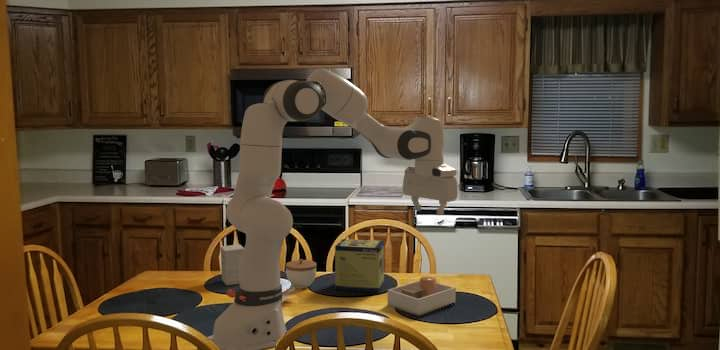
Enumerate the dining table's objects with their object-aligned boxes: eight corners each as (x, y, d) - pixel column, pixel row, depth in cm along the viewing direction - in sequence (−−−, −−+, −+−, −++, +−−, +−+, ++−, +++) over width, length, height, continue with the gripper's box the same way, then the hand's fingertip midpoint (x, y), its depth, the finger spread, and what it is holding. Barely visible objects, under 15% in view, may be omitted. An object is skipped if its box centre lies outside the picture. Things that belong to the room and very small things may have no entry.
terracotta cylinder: (438, 300, 205) (439, 279, 204) (428, 303, 202) (428, 282, 201) (427, 296, 209) (427, 275, 208) (416, 300, 205) (416, 278, 204)
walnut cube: (413, 308, 197) (413, 293, 196) (401, 305, 201) (401, 289, 200) (424, 305, 200) (424, 289, 200) (412, 301, 204) (412, 286, 203)
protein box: (379, 292, 215) (379, 247, 213) (334, 290, 218) (334, 245, 216) (384, 283, 225) (384, 240, 223) (341, 281, 229) (341, 238, 227)
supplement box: (241, 277, 234) (240, 243, 232) (246, 283, 227) (245, 248, 225) (221, 280, 231) (220, 245, 229) (225, 285, 224) (224, 250, 222)
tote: (455, 303, 204) (455, 287, 203) (418, 315, 193) (418, 299, 192) (424, 293, 214) (424, 279, 213) (387, 305, 202) (387, 289, 202)
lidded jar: (323, 283, 225) (322, 257, 224) (304, 292, 216) (303, 264, 215) (298, 279, 231) (298, 253, 230) (279, 287, 222) (279, 260, 221)
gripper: (398, 166, 205) (398, 209, 207) (447, 172, 190) (446, 218, 192) (411, 165, 209) (411, 206, 211) (460, 170, 194) (460, 215, 196)
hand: (428, 212), depth 202 cm, fingers open, 8 cm apart
